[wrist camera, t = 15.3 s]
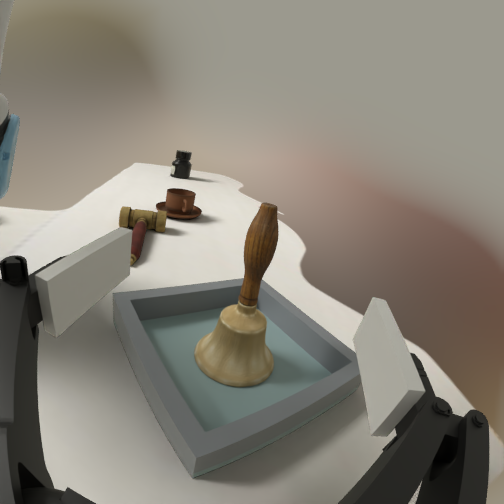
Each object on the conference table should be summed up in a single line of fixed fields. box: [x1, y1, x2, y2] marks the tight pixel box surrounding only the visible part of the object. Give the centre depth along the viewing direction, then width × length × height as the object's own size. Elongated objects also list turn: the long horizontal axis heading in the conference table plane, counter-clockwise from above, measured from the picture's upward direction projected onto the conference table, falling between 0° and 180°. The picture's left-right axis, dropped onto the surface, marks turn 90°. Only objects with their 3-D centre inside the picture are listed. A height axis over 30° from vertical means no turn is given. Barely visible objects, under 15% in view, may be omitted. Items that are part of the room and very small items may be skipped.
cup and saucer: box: [156, 188, 202, 219], centre depth 72 cm, size 12×12×6 cm
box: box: [113, 278, 362, 478], centre depth 28 cm, size 20×20×4 cm
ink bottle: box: [171, 150, 191, 179], centre depth 125 cm, size 10×9×12 cm
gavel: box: [119, 207, 167, 265], centre depth 51 cm, size 21×5×10 cm
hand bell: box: [194, 203, 278, 387], centre depth 26 cm, size 8×8×16 cm
